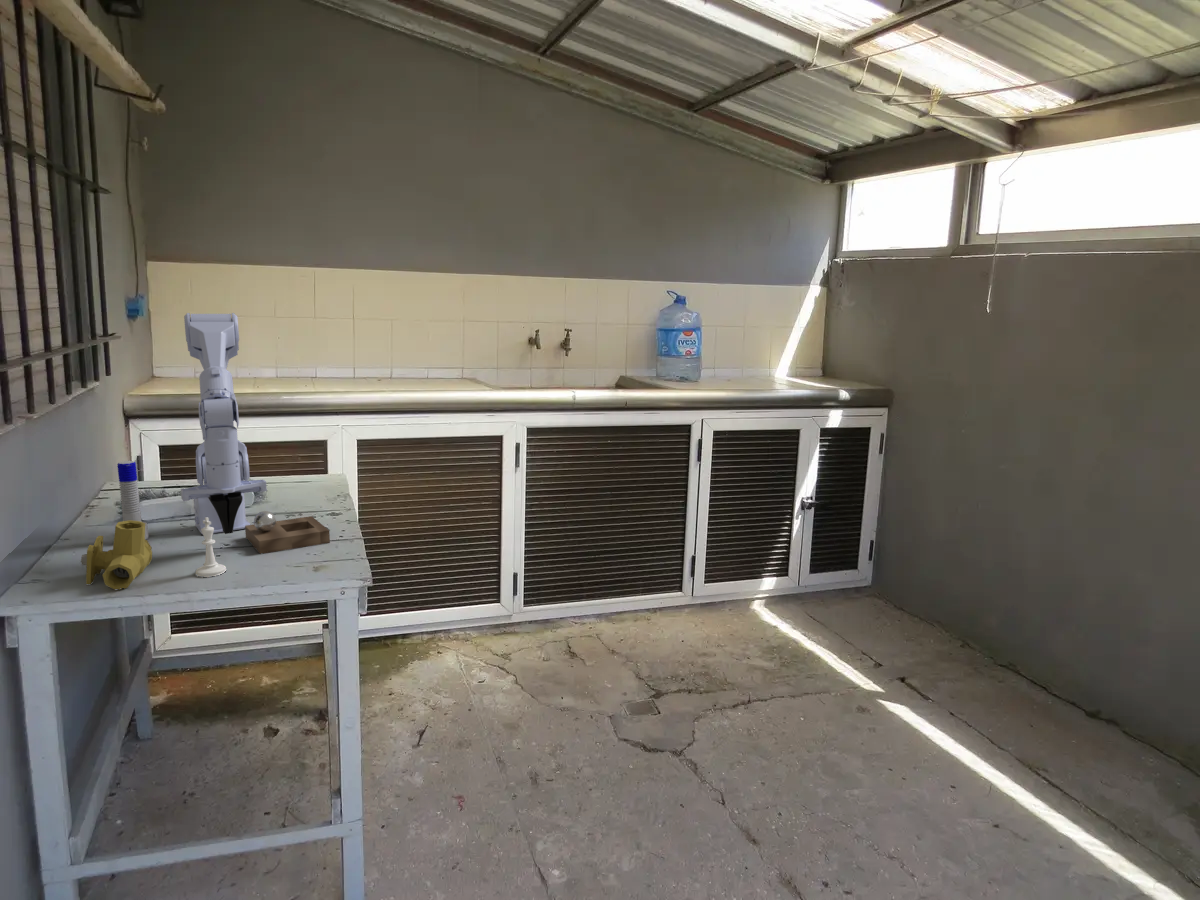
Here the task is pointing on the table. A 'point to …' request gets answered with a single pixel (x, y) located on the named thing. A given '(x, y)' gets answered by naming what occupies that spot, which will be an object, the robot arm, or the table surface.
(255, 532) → the pocket board
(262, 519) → the steel ball
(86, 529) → the table surface
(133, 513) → the bolt
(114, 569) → the ball valve
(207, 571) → the chess piece
